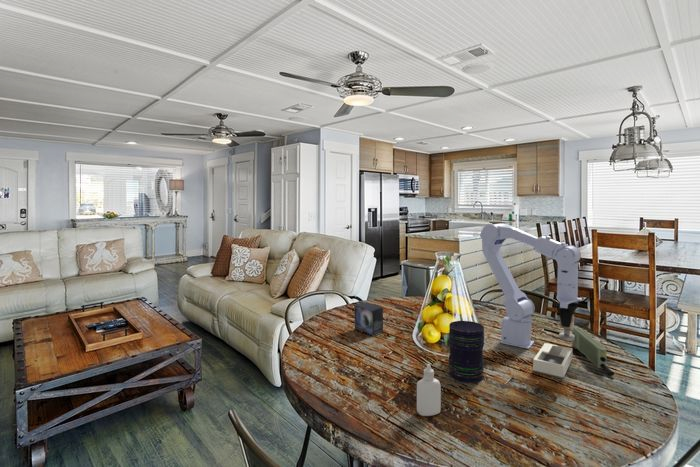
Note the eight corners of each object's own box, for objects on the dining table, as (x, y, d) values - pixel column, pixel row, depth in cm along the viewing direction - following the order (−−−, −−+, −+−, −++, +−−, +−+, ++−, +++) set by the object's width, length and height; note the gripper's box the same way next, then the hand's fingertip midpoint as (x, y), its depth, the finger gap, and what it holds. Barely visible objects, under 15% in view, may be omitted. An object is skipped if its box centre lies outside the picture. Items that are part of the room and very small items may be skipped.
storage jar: (483, 370, 114) (484, 322, 113) (483, 385, 105) (484, 333, 103) (449, 366, 117) (450, 319, 116) (447, 380, 108) (447, 329, 107)
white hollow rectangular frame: (563, 378, 108) (563, 366, 108) (533, 371, 113) (533, 359, 113) (572, 359, 120) (572, 348, 120) (544, 353, 125) (544, 342, 125)
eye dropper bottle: (417, 406, 95) (417, 359, 94) (440, 408, 93) (441, 362, 92) (416, 415, 91) (416, 367, 90) (440, 418, 89) (440, 369, 88)
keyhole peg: (557, 339, 122) (558, 315, 122) (560, 335, 126) (560, 312, 125) (573, 341, 120) (574, 317, 119) (575, 337, 123) (575, 314, 123)
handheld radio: (581, 345, 133) (618, 378, 108) (571, 345, 133) (605, 378, 109) (581, 327, 132) (618, 355, 108) (570, 327, 133) (605, 355, 108)
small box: (353, 330, 151) (353, 304, 150) (365, 326, 156) (364, 301, 155) (372, 336, 144) (372, 309, 143) (383, 332, 148) (383, 306, 147)
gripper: (579, 289, 113) (578, 333, 114) (584, 280, 125) (583, 321, 126) (552, 286, 118) (552, 329, 119) (560, 278, 129) (559, 317, 130)
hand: (566, 324), depth 122 cm, fingers closed on keyhole peg, 3 cm apart
